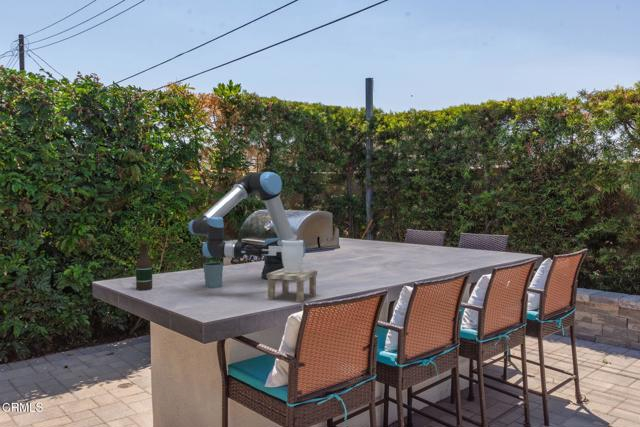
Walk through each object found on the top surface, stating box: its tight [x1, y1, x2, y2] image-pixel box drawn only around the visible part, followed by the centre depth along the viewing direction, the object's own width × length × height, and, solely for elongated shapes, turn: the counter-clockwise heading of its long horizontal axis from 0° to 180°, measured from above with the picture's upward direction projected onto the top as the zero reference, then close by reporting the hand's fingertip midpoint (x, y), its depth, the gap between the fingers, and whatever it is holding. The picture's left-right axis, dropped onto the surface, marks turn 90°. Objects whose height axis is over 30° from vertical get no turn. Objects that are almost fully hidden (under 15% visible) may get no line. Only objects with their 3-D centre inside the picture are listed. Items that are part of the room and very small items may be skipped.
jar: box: [282, 239, 304, 273], centre depth 229 cm, size 11×10×15 cm
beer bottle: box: [135, 241, 153, 291], centre depth 248 cm, size 8×8×24 cm
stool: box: [267, 268, 318, 304], centre depth 230 cm, size 18×18×12 cm
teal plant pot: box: [202, 261, 224, 289], centre depth 256 cm, size 10×10×12 cm
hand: (279, 250), depth 230 cm, fingers open, 13 cm apart
